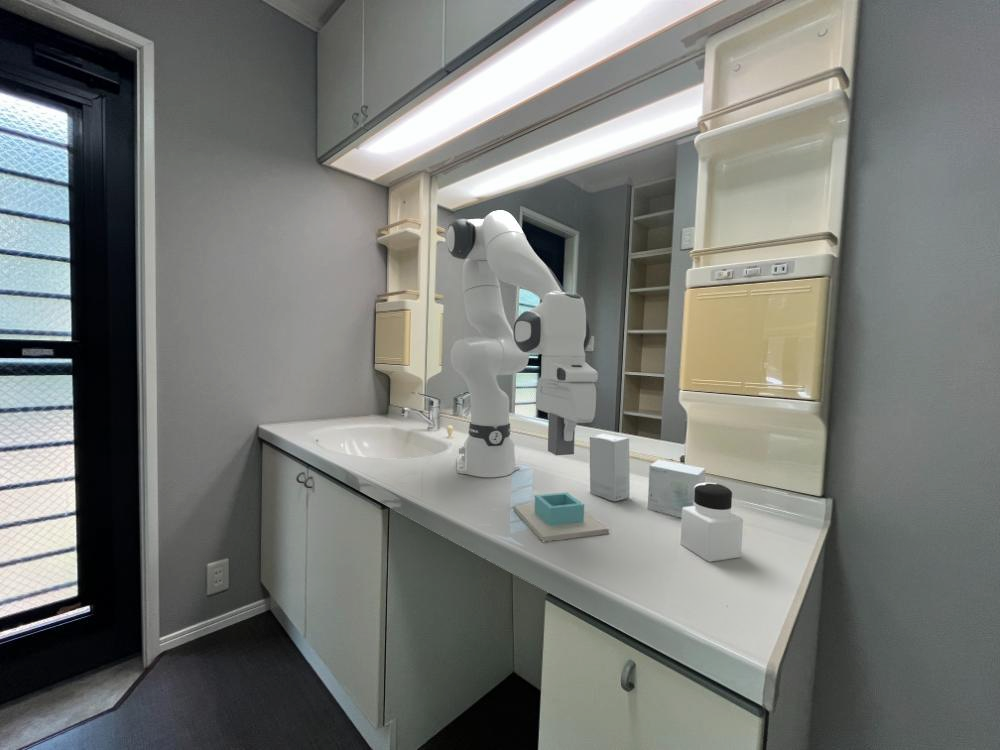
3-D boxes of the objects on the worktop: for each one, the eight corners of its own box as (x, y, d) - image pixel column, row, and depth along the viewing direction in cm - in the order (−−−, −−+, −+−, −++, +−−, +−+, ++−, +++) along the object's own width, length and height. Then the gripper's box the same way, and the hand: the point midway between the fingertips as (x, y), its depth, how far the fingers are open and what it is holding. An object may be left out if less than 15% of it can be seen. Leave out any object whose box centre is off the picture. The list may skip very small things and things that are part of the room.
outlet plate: (513, 510, 92) (514, 490, 92) (570, 504, 96) (571, 485, 96) (542, 542, 77) (543, 518, 77) (608, 533, 81) (609, 511, 81)
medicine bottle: (741, 557, 73) (745, 490, 72) (708, 563, 71) (712, 493, 70) (710, 539, 79) (713, 478, 79) (679, 544, 77) (682, 480, 77)
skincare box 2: (646, 509, 94) (648, 464, 94) (656, 502, 99) (658, 458, 99) (695, 522, 88) (698, 473, 87) (703, 513, 92) (706, 467, 92)
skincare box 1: (629, 498, 101) (632, 438, 100) (612, 503, 98) (615, 440, 97) (603, 488, 108) (605, 432, 107) (587, 492, 105) (589, 434, 104)
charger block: (547, 450, 87) (548, 405, 86) (565, 449, 88) (566, 405, 88) (556, 455, 83) (557, 408, 83) (573, 454, 84) (575, 407, 84)
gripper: (529, 368, 94) (528, 429, 94) (572, 373, 74) (570, 449, 75) (554, 368, 96) (553, 428, 96) (603, 373, 76) (600, 447, 77)
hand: (561, 437), depth 86 cm, fingers closed on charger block, 4 cm apart
